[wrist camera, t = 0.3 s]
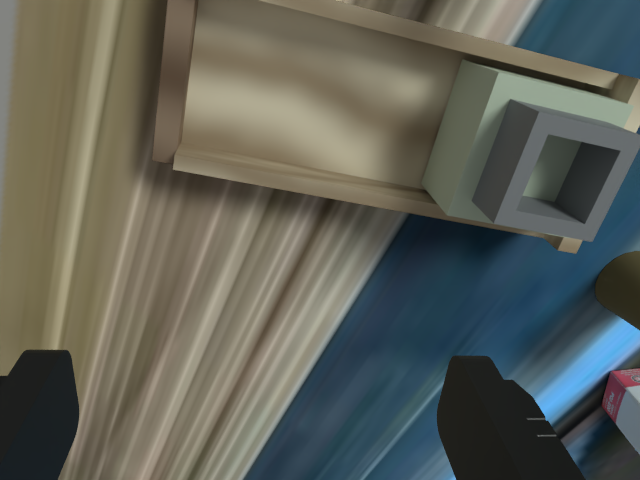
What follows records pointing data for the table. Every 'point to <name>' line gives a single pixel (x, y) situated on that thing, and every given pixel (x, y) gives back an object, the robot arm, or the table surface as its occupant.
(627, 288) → the cork
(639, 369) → the ink box
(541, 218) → the square socket block
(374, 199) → the bay
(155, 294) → the table surface
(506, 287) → the table surface
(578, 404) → the table surface
